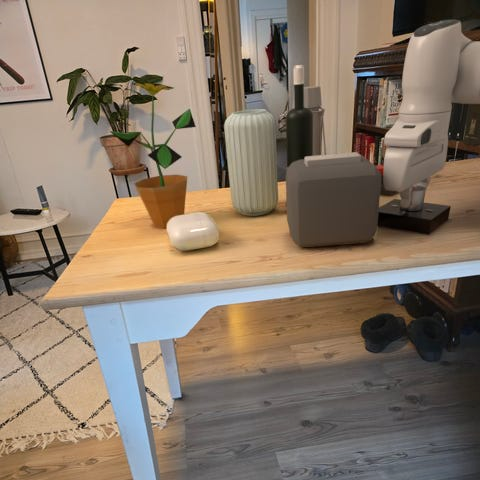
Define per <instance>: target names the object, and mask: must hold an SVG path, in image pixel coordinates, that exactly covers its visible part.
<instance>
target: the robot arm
mask: <svg viewBox="0 0 480 480" xmlns="http://www.w3.org/2000/svg"><path fill="white" fill-rule="evenodd" d="M401 91H402V100H401V103H400V107H399V110H398V117H397V120H396V121H395V122H394V124H393V126H392V127H391V128H390V129H389V130H388V131H387V132H386V133H385V134H384V138H383V139H384V140H383V145H384V147H387V148H386V150H385V153H384V160H383V165H384V169H383V185H384V188H385V189H386V190H389V191H397V193H399V198H400V199H401V203H400V206H401V207H404V208H408V207H410V206H411V205H412V201H413V197H411V190H412V189H413V186H423V187H425V188H426V190H427V189H428V186H429V185H430V181H431V177H432V176H434V175H435V174H437V173H439V172H441V171H442V170H444V168H445V166H446V162H447V155H448V145H449V134H448V133H449V127H450V122H451V116H452V109H453V104H462V105H471V104H472V105H480V40H479V41H477V40H475V41H474V40H473V39H470V38H468V37H466V36H465V35H464V34H463V32H462V22H461V20H458V19H443V20H438V21H436V22H431V23H427V24H425V25H422V26H420V27H418V28H416V30H414V32H412V34H411V36H410V38H409V42H408V45H407V48H406V52H405V57H404V63H403V70H402V78H401Z"/></svg>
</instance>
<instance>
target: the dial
mask: <svg viewBox="0 0 480 480" xmlns="http://www.w3.org/2000/svg"><path fill="white" fill-rule="evenodd" d="M426 191H427V189H426V188H425V187H423V186H417V185H413V189H412V190H411V197H413V201H412V205H411V206H410V207H408V208H404V207H401V206H400V209H402V210H404V211H419V210H422V209H423V205H424V202H425V197H426Z"/></svg>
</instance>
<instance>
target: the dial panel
mask: <svg viewBox="0 0 480 480" xmlns="http://www.w3.org/2000/svg"><path fill="white" fill-rule="evenodd" d="M400 203H401V198H393V199H392V200H390V201H388V202H386V203H384V204H382V205H381V206H379V213H378V224H377V227H380V228H387V229H392V230H399V231H405V232H409V233H416V234H420V235H421V234H422V235H425V236H426V235H428V236H429V235H430V234H432V233H433V232H434V231H436V230H437V229H438V228H440V227H441V226H443V225H444V224H445V223H447V222H448V221H449V220H450V219H449V218H450V214H451V207H452V205H449V204H448V205H447V204H440V203H433V202H425V201H424V205H423V209H422V210H419V211H404V210H402V209H400Z"/></svg>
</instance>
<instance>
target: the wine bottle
mask: <svg viewBox="0 0 480 480" xmlns="http://www.w3.org/2000/svg"><path fill="white" fill-rule="evenodd" d="M304 87H305V65H304V64H295V65H293V95H294V105H295V108H294V109H293V108H291V109H290V110H288V112H287V113H286V115H285V139H286V140H285V141H286V142H285V143H286V169H287V168H288V167H289V166H290V165H291V164H292V162H295V161H298V160H301V159H304V157H307V156H313V114H312V112H311V110H310V109H308V108H304Z"/></svg>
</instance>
